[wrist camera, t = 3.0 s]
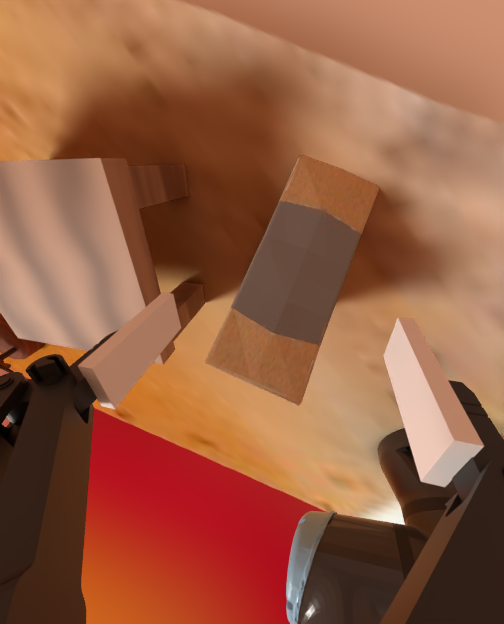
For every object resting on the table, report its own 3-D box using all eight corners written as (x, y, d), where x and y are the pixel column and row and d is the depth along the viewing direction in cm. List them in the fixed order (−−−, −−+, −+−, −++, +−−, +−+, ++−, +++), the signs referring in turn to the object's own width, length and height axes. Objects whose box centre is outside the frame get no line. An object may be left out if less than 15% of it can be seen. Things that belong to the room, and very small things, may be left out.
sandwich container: (384, 185, 22) (458, 217, 10) (310, 310, 31) (301, 409, 19) (299, 150, 22) (268, 140, 10) (249, 284, 31) (201, 365, 19)
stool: (188, 158, 25) (100, 158, 15) (208, 306, 35) (163, 364, 25) (40, 162, 29) (-103, 164, 19) (95, 293, 39) (18, 338, 29)
